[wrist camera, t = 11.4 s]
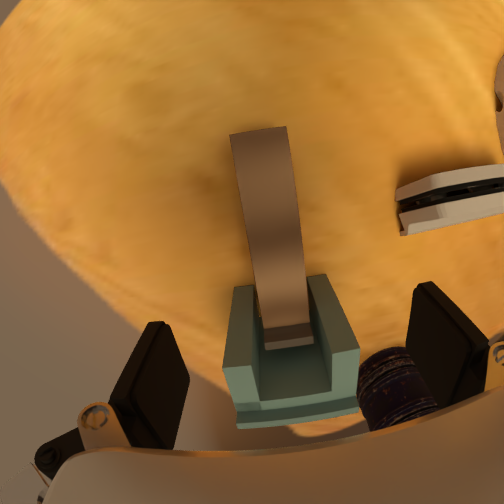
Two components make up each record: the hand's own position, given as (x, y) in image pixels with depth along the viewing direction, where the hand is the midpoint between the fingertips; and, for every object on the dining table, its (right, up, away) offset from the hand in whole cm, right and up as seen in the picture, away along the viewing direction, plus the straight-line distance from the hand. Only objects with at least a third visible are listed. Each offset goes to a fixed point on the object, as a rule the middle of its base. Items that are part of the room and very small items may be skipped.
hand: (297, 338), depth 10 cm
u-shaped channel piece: (+2, -3, +20) cm, 21 cm away
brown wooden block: (0, +6, +17) cm, 18 cm away
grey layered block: (+21, +10, +16) cm, 28 cm away
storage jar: (+17, -14, +25) cm, 33 cm away
